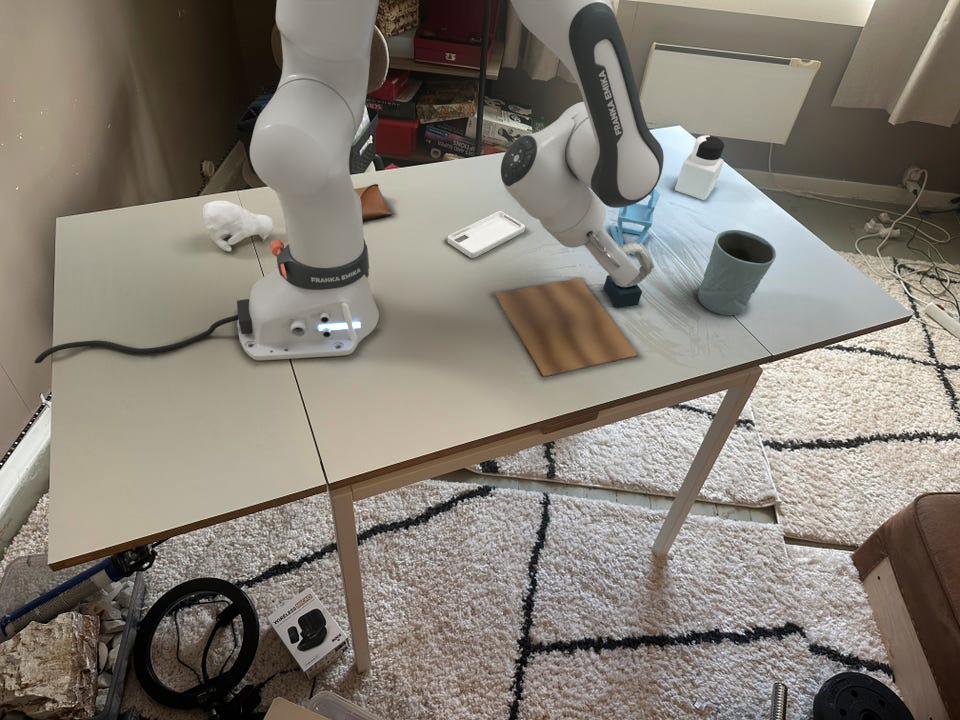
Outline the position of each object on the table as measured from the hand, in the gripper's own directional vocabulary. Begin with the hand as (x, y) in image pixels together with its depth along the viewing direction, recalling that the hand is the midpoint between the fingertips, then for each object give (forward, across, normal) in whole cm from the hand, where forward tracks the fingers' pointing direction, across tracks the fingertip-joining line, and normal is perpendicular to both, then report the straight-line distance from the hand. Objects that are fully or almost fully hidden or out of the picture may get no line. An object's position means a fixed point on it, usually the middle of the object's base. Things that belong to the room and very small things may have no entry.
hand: (617, 259), depth 108 cm
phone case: (-4, +24, +16) cm, 29 cm away
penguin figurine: (-36, +34, +48) cm, 69 cm away
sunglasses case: (-21, +38, +34) cm, 55 cm away
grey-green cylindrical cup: (+21, -6, -8) cm, 24 cm away
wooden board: (-1, -4, +14) cm, 14 cm away
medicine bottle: (+34, +30, -21) cm, 50 cm away
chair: (+16, +15, -3) cm, 22 cm away
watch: (+9, 0, +4) cm, 10 cm away
